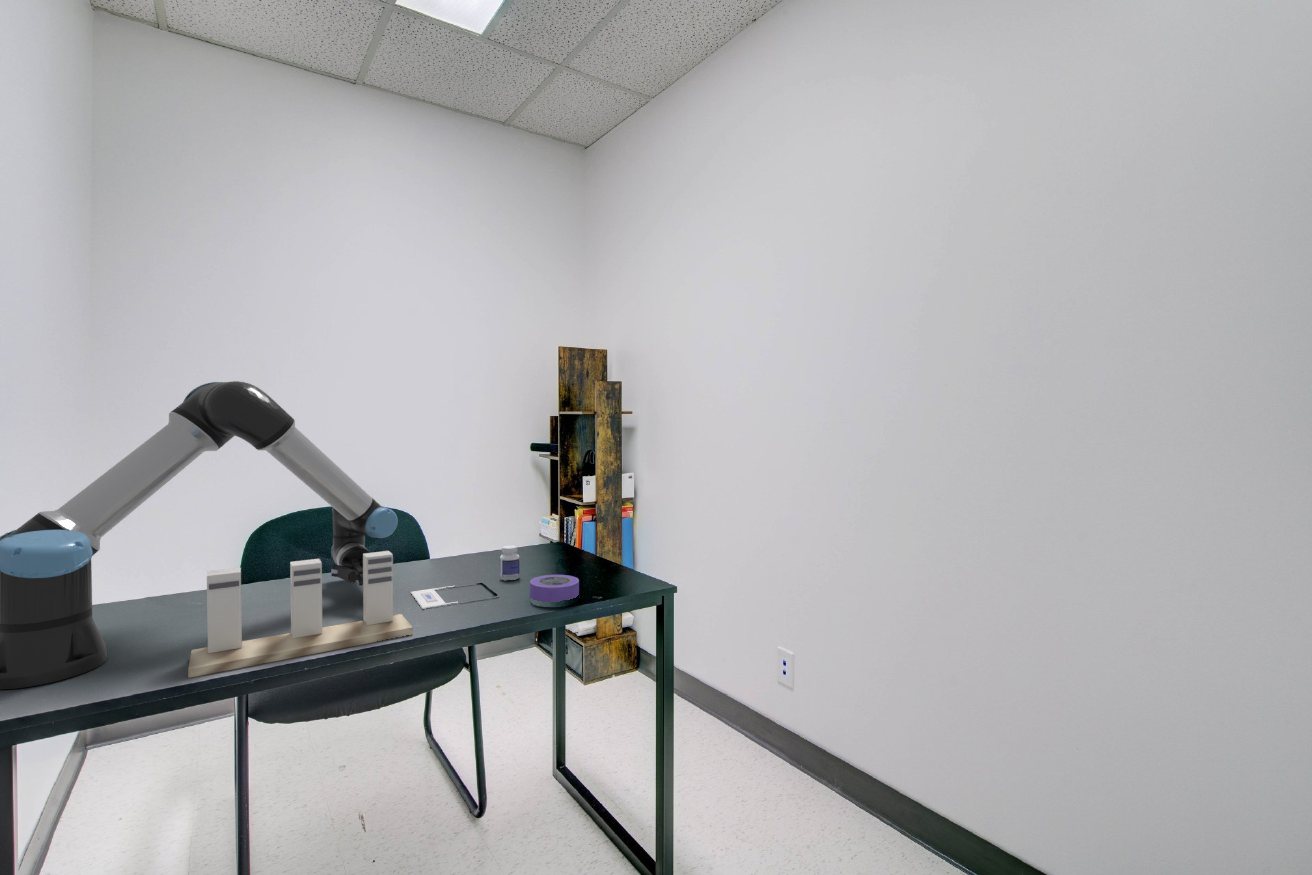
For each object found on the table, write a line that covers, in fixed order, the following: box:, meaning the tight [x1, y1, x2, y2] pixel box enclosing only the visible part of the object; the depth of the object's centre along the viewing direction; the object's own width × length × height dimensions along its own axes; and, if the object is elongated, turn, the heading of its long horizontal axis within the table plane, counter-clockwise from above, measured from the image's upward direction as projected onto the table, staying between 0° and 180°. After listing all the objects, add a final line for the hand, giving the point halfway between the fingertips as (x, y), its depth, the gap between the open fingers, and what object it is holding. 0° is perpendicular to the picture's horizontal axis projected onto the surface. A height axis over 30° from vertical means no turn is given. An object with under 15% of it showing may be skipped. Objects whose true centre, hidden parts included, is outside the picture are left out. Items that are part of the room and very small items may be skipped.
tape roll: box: [529, 574, 580, 602], centre depth 145 cm, size 12×12×5 cm
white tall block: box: [289, 558, 323, 638], centre depth 117 cm, size 5×4×14 cm
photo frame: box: [410, 585, 458, 610], centre depth 148 cm, size 15×1×18 cm
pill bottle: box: [499, 544, 521, 577], centre depth 164 cm, size 5×5×9 cm
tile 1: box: [206, 567, 243, 653], centre depth 110 cm, size 5×4×14 cm
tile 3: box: [362, 550, 394, 625], centre depth 125 cm, size 5×4×14 cm
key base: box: [187, 613, 414, 679], centre depth 115 cm, size 36×10×2 cm, turn 125°
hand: (374, 582), depth 131 cm, fingers closed
